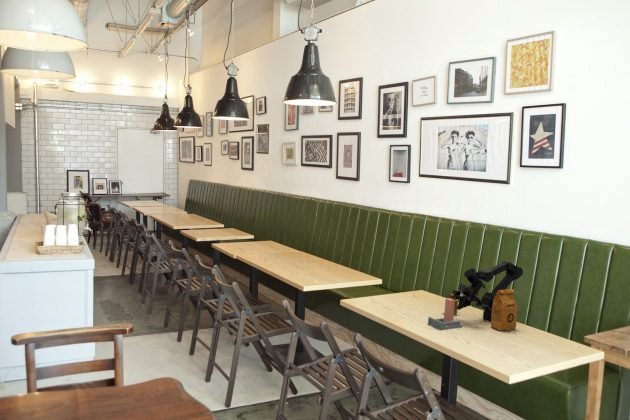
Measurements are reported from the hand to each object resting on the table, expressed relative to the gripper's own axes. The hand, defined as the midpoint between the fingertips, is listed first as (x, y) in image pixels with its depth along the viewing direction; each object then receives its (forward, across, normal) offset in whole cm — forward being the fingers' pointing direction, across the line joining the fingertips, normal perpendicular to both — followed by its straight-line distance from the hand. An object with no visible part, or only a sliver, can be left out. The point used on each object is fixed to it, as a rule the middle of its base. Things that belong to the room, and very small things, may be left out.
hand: (457, 309), depth 294 cm
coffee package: (-8, +15, +20) cm, 26 cm away
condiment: (-2, -17, +14) cm, 22 cm away
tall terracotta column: (+9, 0, +1) cm, 9 cm away
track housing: (+12, 0, 0) cm, 12 cm away
